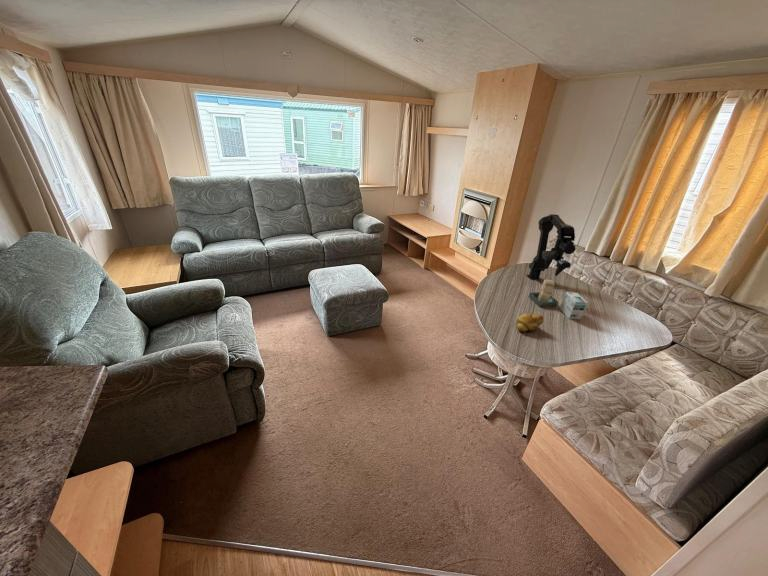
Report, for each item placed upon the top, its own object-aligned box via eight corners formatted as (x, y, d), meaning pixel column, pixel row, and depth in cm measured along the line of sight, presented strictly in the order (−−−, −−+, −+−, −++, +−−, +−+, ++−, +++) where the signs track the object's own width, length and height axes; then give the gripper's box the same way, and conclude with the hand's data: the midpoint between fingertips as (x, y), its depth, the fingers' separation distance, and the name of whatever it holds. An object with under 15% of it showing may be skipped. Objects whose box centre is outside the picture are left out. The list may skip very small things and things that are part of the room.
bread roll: (523, 336, 148) (528, 322, 144) (508, 324, 155) (512, 311, 151) (541, 330, 153) (547, 317, 149) (526, 319, 161) (531, 306, 157)
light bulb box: (581, 320, 164) (588, 302, 159) (568, 319, 164) (575, 301, 159) (570, 309, 173) (577, 292, 168) (558, 308, 173) (565, 291, 168)
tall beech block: (537, 298, 180) (544, 279, 174) (546, 299, 180) (553, 280, 174) (539, 302, 177) (546, 282, 171) (547, 303, 176) (554, 284, 170)
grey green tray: (528, 297, 182) (529, 292, 181) (545, 296, 184) (546, 292, 183) (539, 307, 173) (541, 302, 171) (556, 306, 174) (558, 302, 173)
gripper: (537, 241, 183) (529, 265, 191) (557, 253, 167) (548, 279, 174) (554, 241, 185) (546, 265, 192) (575, 254, 169) (565, 279, 176)
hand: (550, 272), depth 184 cm, fingers open, 9 cm apart
